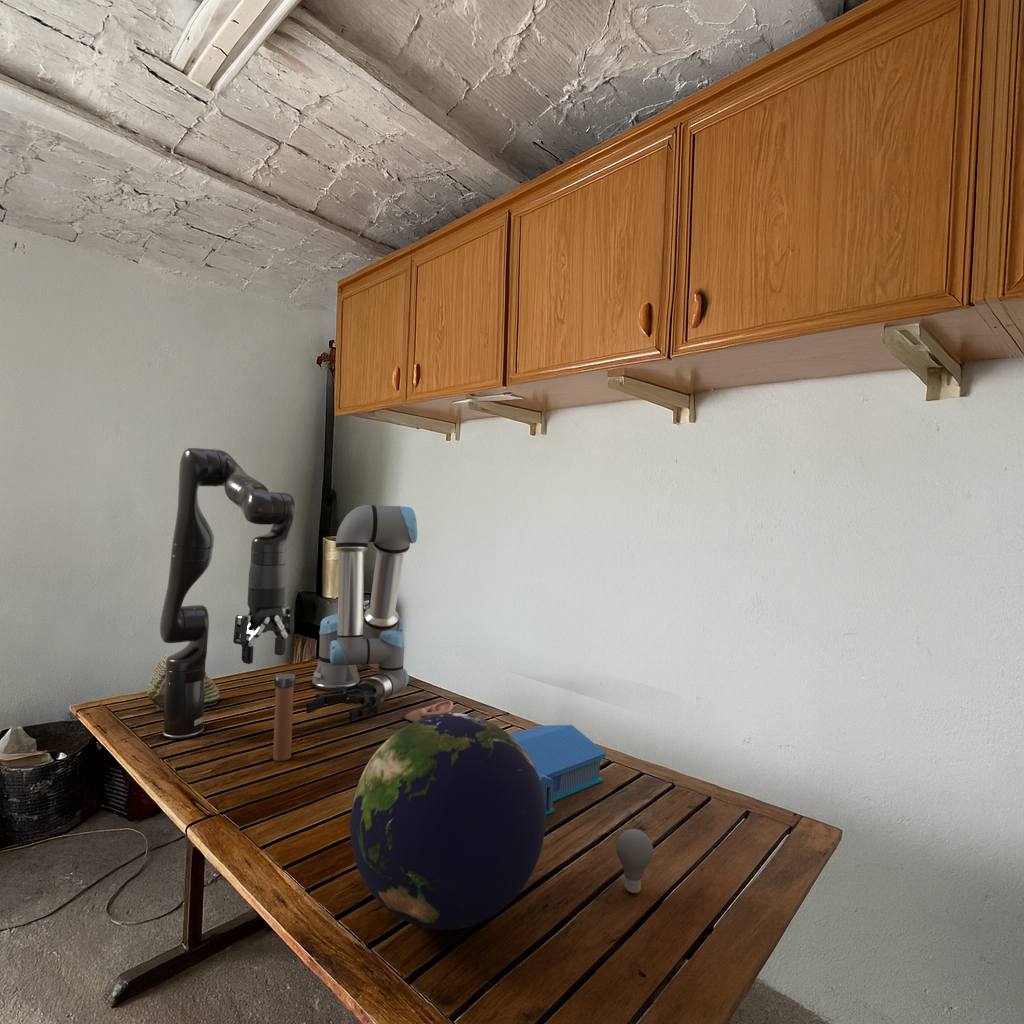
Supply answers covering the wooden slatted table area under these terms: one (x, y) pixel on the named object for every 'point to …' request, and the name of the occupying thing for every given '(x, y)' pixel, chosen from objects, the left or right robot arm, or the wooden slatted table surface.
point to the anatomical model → (430, 711)
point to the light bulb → (634, 857)
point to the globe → (448, 821)
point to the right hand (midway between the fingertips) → (328, 712)
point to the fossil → (158, 687)
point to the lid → (284, 680)
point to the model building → (561, 760)
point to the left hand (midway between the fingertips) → (263, 658)
